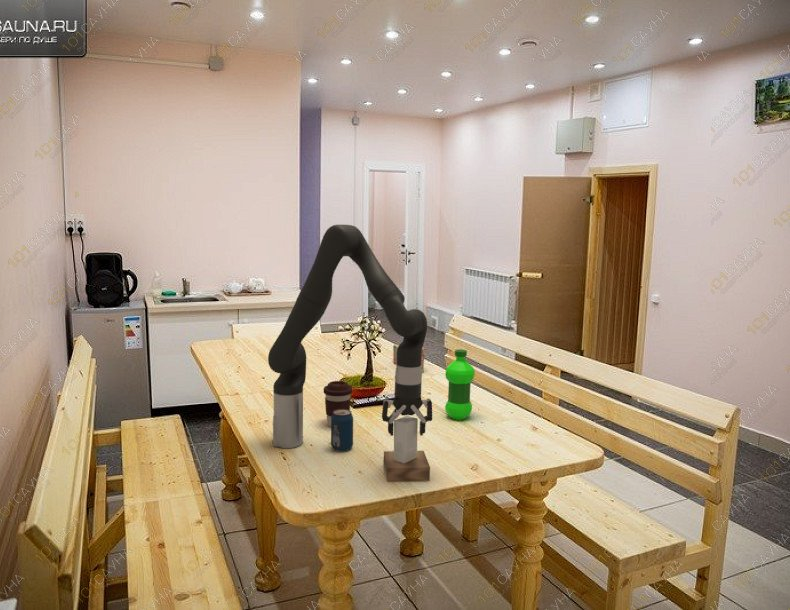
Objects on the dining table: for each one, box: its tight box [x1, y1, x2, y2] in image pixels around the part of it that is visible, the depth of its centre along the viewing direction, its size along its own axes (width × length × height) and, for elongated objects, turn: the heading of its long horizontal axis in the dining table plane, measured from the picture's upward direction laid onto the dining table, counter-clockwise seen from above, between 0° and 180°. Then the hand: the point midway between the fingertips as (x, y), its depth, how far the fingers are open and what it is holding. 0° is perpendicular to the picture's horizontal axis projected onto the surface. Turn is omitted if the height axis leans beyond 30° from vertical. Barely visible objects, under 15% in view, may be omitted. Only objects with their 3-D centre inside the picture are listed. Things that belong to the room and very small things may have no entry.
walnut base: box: [382, 450, 431, 483], centre depth 183 cm, size 12×12×4 cm
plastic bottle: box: [444, 349, 476, 421], centre depth 229 cm, size 10×10×25 cm
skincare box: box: [393, 415, 419, 464], centre depth 181 cm, size 6×4×12 cm
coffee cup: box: [323, 380, 353, 428], centre depth 219 cm, size 10×10×15 cm
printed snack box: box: [392, 344, 425, 374], centre depth 297 cm, size 21×6×12 cm, turn 24°
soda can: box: [330, 409, 354, 453], centre depth 199 cm, size 7×7×12 cm
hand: (406, 434), depth 181 cm, fingers open, 8 cm apart
